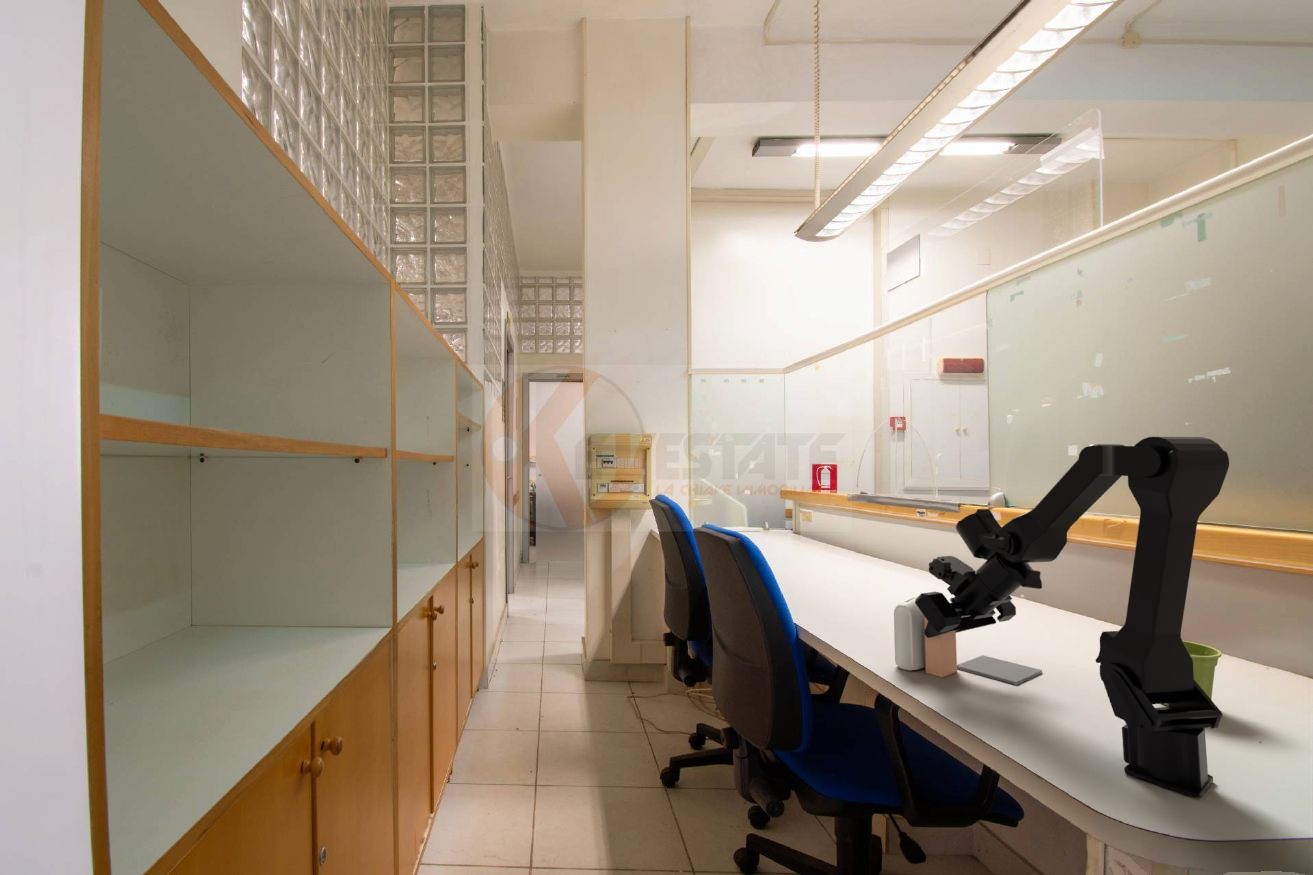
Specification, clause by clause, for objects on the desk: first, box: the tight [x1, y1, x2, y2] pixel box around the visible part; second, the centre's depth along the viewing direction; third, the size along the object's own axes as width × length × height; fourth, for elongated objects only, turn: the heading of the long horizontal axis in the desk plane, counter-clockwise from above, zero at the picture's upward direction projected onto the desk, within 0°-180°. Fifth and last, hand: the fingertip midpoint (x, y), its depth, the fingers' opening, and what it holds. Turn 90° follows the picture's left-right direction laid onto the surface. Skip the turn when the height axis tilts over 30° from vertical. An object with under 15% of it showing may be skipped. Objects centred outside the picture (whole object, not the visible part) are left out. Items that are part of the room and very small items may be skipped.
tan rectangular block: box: [923, 601, 958, 678], centre depth 100 cm, size 3×5×12 cm, turn 125°
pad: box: [957, 655, 1043, 686], centre depth 100 cm, size 10×10×1 cm
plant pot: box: [1163, 640, 1223, 707], centre depth 85 cm, size 9×9×9 cm
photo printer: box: [893, 595, 925, 672], centre depth 104 cm, size 10×4×12 cm, turn 123°
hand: (937, 633), depth 100 cm, fingers closed on tan rectangular block, 5 cm apart
